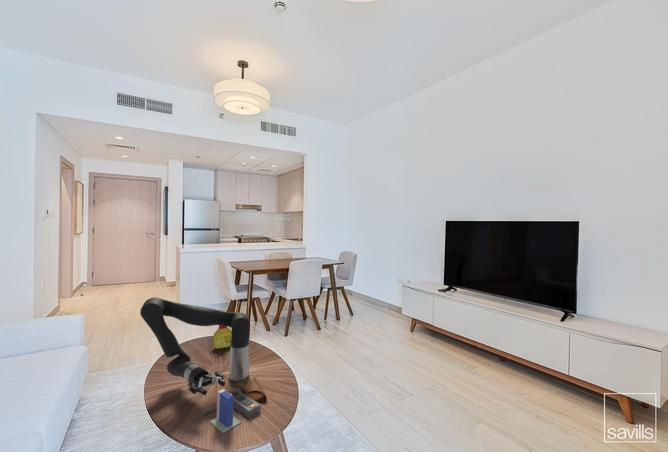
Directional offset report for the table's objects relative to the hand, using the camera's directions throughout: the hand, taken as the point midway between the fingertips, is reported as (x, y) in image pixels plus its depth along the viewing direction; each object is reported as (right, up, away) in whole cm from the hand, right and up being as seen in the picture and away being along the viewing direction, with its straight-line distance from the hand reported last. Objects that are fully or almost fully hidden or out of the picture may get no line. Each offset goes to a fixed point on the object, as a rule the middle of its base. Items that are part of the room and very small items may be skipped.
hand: (215, 388), depth 129 cm
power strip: (+4, -11, +3) cm, 12 cm away
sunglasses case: (+12, -12, +16) cm, 23 cm away
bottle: (-21, -9, +65) cm, 68 cm away
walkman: (+6, -11, -5) cm, 14 cm away
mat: (+6, -11, -5) cm, 14 cm away
